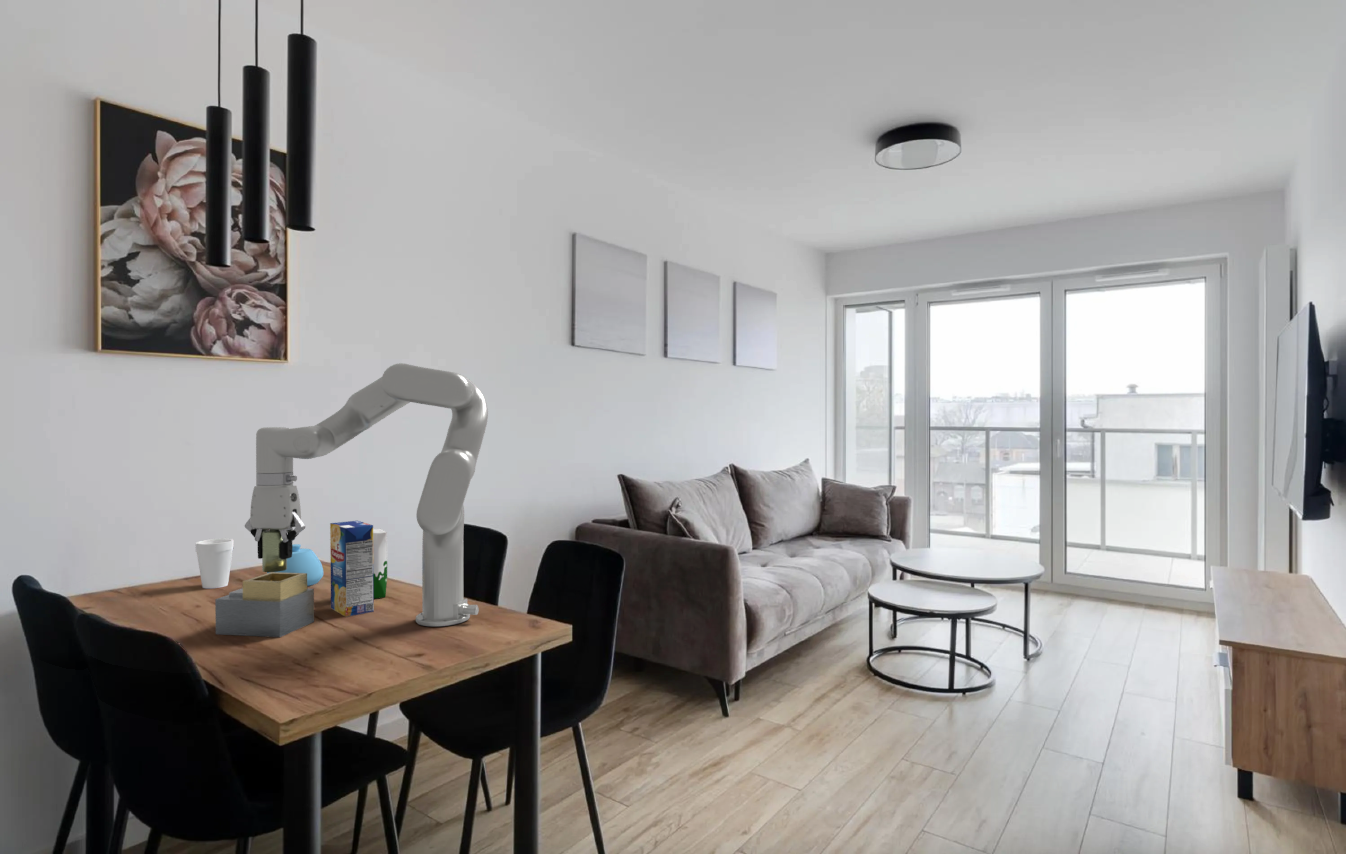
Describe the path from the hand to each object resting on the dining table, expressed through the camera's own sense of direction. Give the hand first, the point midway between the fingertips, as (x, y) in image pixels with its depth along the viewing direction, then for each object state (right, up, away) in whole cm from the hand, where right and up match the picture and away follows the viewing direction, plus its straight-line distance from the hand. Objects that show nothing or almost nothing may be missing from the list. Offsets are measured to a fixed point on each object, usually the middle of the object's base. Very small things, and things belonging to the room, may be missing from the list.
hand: (275, 557), depth 166 cm
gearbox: (-2, -17, +1) cm, 17 cm away
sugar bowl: (-19, -16, +44) cm, 51 cm away
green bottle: (0, -3, 0) cm, 3 cm away
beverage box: (+11, -17, +16) cm, 26 cm away
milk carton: (+10, -16, +29) cm, 35 cm away
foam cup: (-40, -16, +41) cm, 60 cm away
